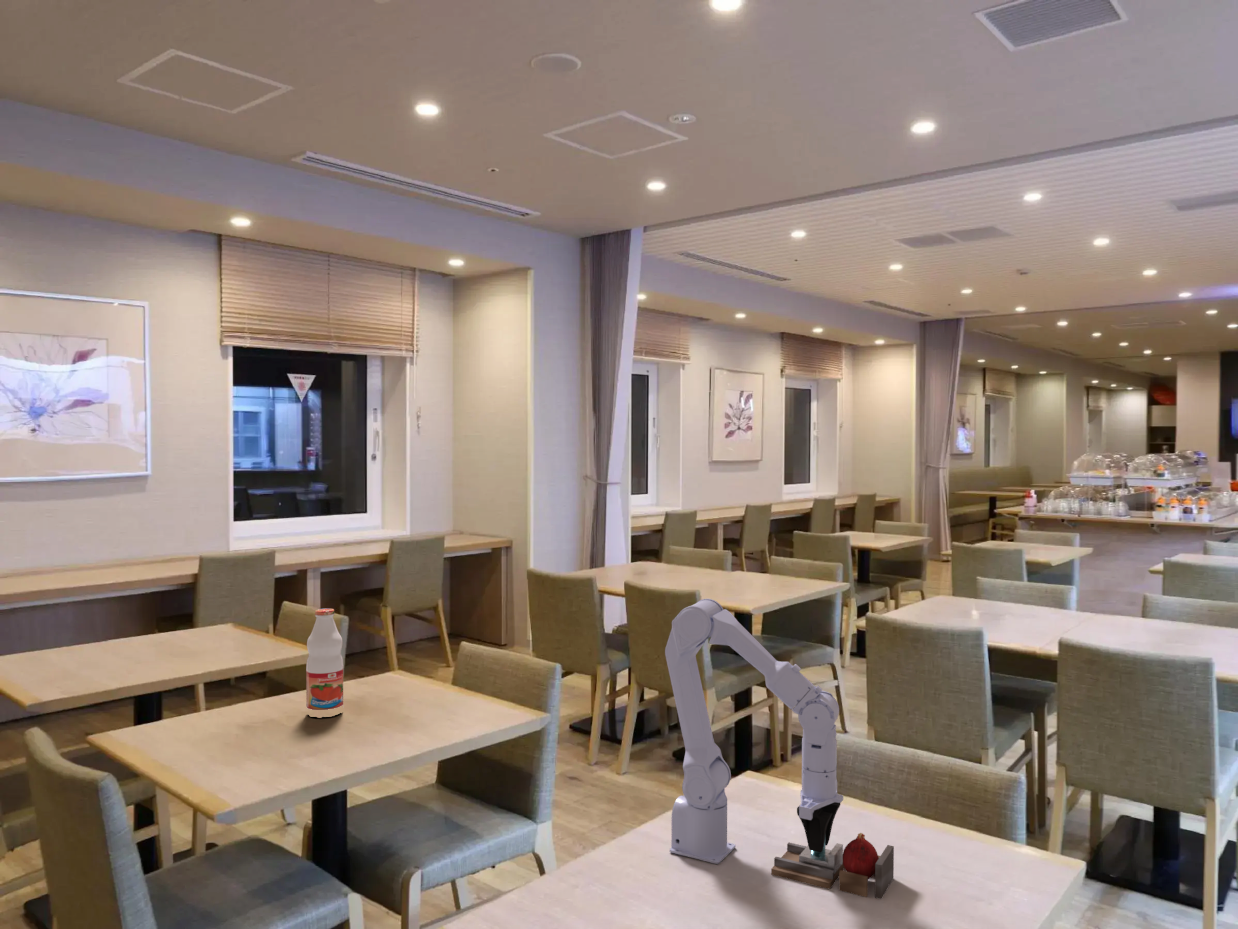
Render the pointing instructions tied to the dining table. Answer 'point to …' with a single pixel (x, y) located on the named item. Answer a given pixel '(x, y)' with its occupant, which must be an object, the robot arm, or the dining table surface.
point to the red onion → (860, 857)
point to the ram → (823, 857)
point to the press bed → (825, 877)
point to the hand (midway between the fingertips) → (818, 847)
